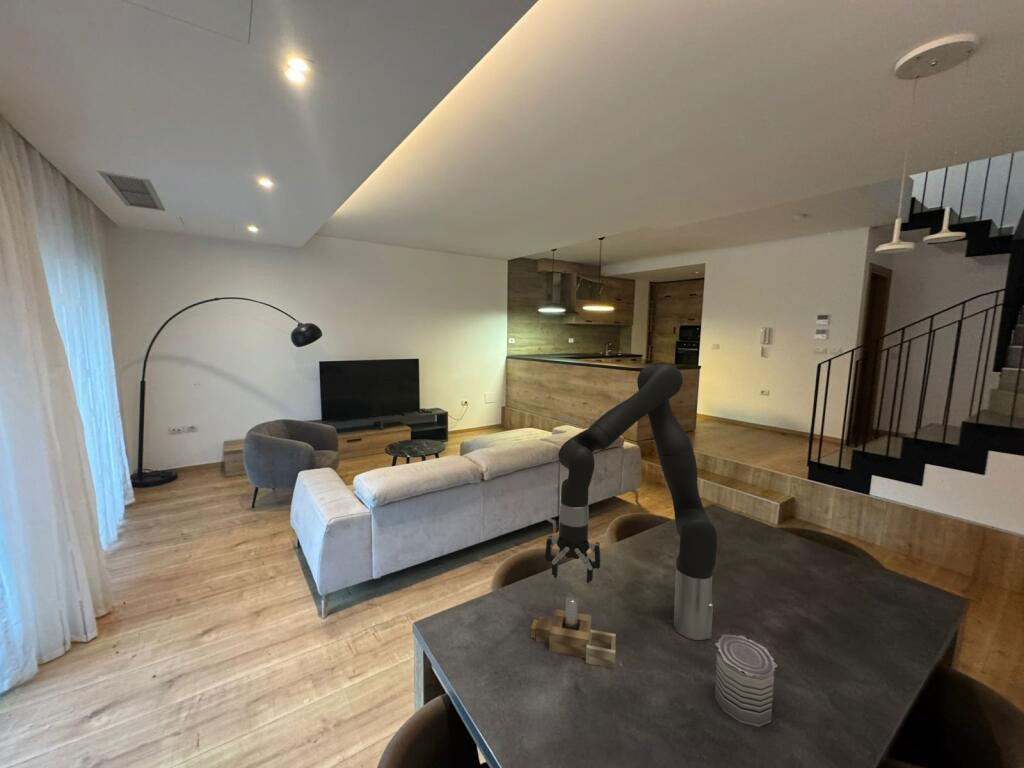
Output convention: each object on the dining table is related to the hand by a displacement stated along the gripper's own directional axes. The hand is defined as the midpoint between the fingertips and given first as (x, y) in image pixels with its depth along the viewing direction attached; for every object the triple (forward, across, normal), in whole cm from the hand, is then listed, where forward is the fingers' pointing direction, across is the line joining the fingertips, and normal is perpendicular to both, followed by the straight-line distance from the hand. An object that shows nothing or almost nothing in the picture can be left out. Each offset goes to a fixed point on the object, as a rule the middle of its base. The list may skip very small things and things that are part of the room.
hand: (571, 578), depth 107 cm
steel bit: (+17, 0, 0) cm, 17 cm away
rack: (+17, -8, +3) cm, 19 cm away
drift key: (+17, +6, 0) cm, 18 cm away
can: (+17, -39, +9) cm, 44 cm away
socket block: (+17, +2, 0) cm, 17 cm away
